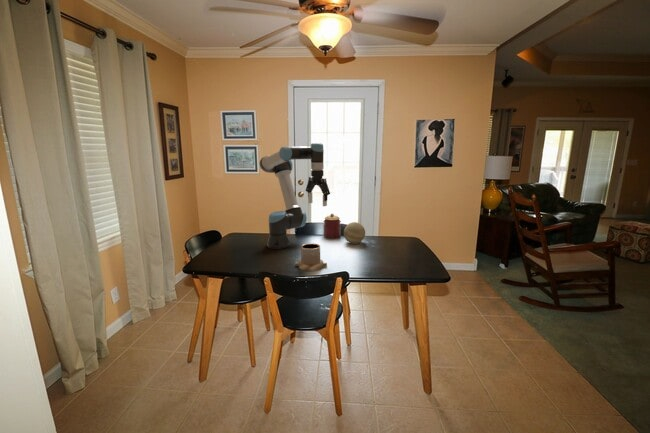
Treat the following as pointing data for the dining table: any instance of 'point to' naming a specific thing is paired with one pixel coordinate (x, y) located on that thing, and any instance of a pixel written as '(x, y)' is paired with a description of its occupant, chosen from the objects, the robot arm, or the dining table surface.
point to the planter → (310, 254)
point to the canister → (332, 226)
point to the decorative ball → (354, 232)
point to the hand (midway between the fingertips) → (317, 204)
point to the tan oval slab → (311, 266)
